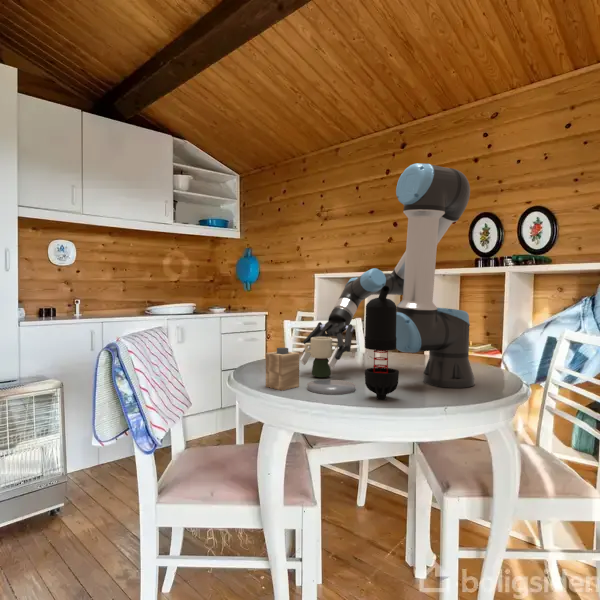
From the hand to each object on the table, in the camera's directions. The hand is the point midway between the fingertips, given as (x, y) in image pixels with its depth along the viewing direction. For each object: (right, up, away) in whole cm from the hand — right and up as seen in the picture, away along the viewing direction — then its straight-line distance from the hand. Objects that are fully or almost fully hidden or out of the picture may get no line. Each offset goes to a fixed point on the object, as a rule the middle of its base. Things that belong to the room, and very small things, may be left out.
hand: (316, 364), depth 143 cm
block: (-10, -5, -12) cm, 17 cm away
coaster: (+4, -5, -14) cm, 16 cm away
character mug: (+2, -5, +2) cm, 6 cm away
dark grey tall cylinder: (-10, -3, -12) cm, 16 cm away
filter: (+16, -6, -25) cm, 30 cm away
